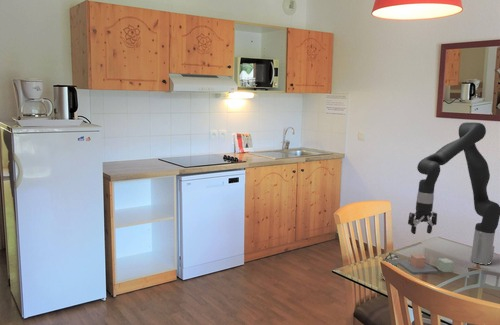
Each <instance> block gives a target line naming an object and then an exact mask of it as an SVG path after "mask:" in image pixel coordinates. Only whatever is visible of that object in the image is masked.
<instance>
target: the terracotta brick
mask: <svg viewBox="0 0 500 325" xmlns="http://www.w3.org/2000/svg"><path fill="white" fill-rule="evenodd" d="M409 257H410V259H409V260H410V265H412V266H413V267H415V268H425V263H426V257H425V256H423V255H422V254H419V253H415V254H410V256H409Z"/></svg>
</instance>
